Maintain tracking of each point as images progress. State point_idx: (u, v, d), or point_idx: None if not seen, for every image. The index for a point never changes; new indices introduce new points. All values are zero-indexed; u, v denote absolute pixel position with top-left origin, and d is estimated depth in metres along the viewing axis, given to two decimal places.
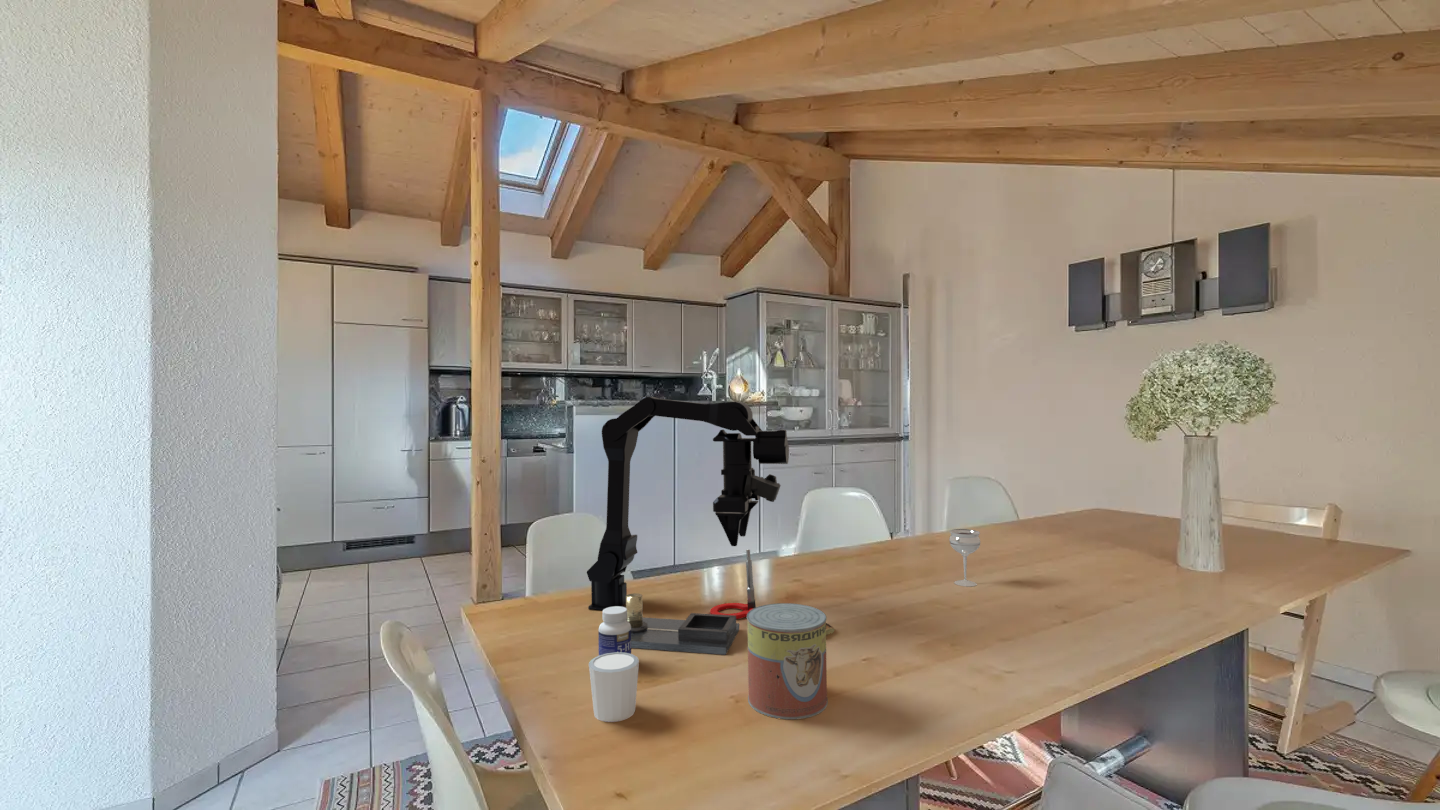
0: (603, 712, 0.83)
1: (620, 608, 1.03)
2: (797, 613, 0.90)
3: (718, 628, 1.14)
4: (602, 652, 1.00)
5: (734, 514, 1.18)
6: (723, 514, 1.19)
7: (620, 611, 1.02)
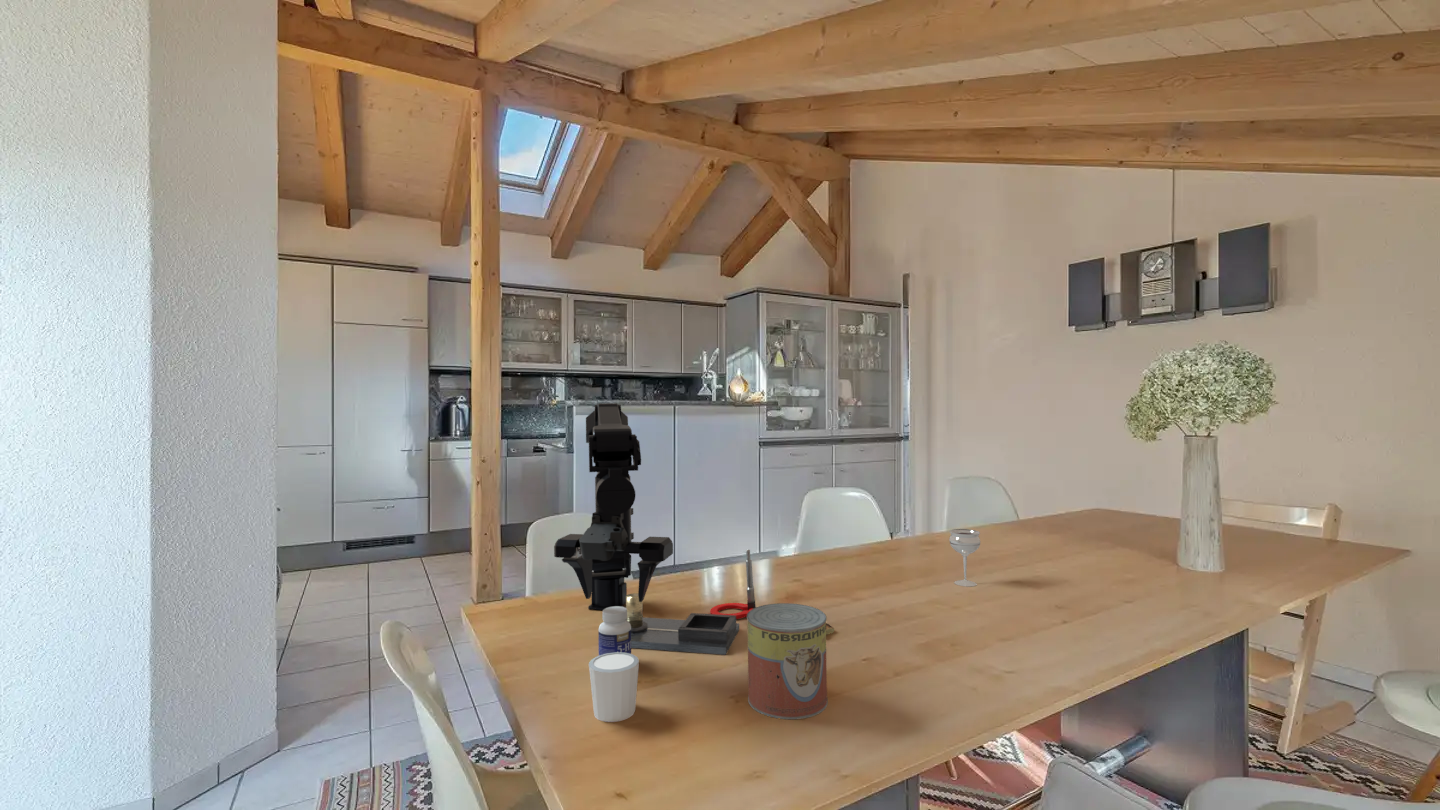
0: (603, 712, 0.83)
1: (620, 608, 1.03)
2: (797, 613, 0.90)
3: (718, 628, 1.14)
4: (602, 652, 1.00)
5: None
6: None
7: (620, 611, 1.01)
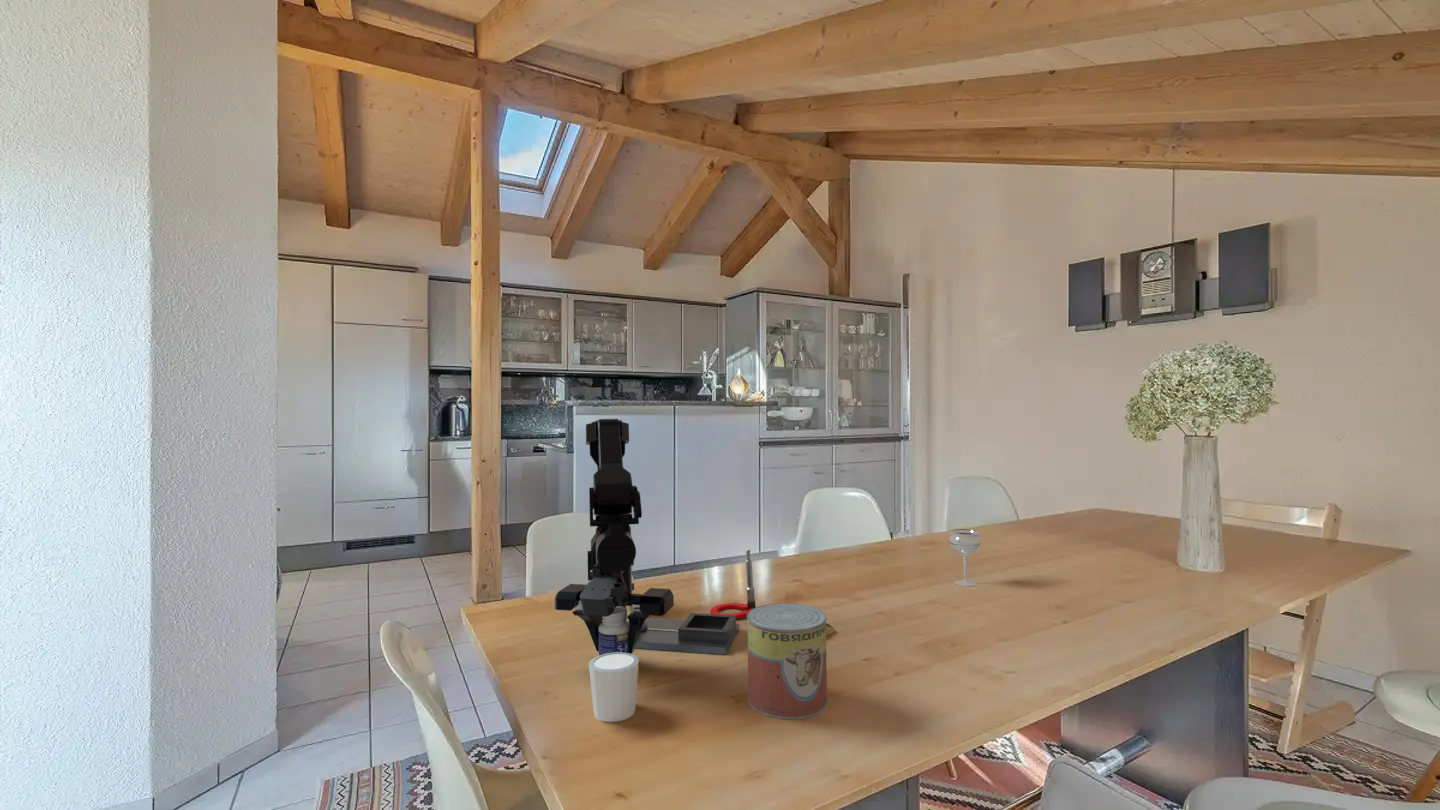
0: (603, 712, 0.83)
1: (620, 608, 1.03)
2: (797, 613, 0.90)
3: (718, 628, 1.14)
4: (602, 651, 1.00)
5: None
6: None
7: (620, 611, 1.01)
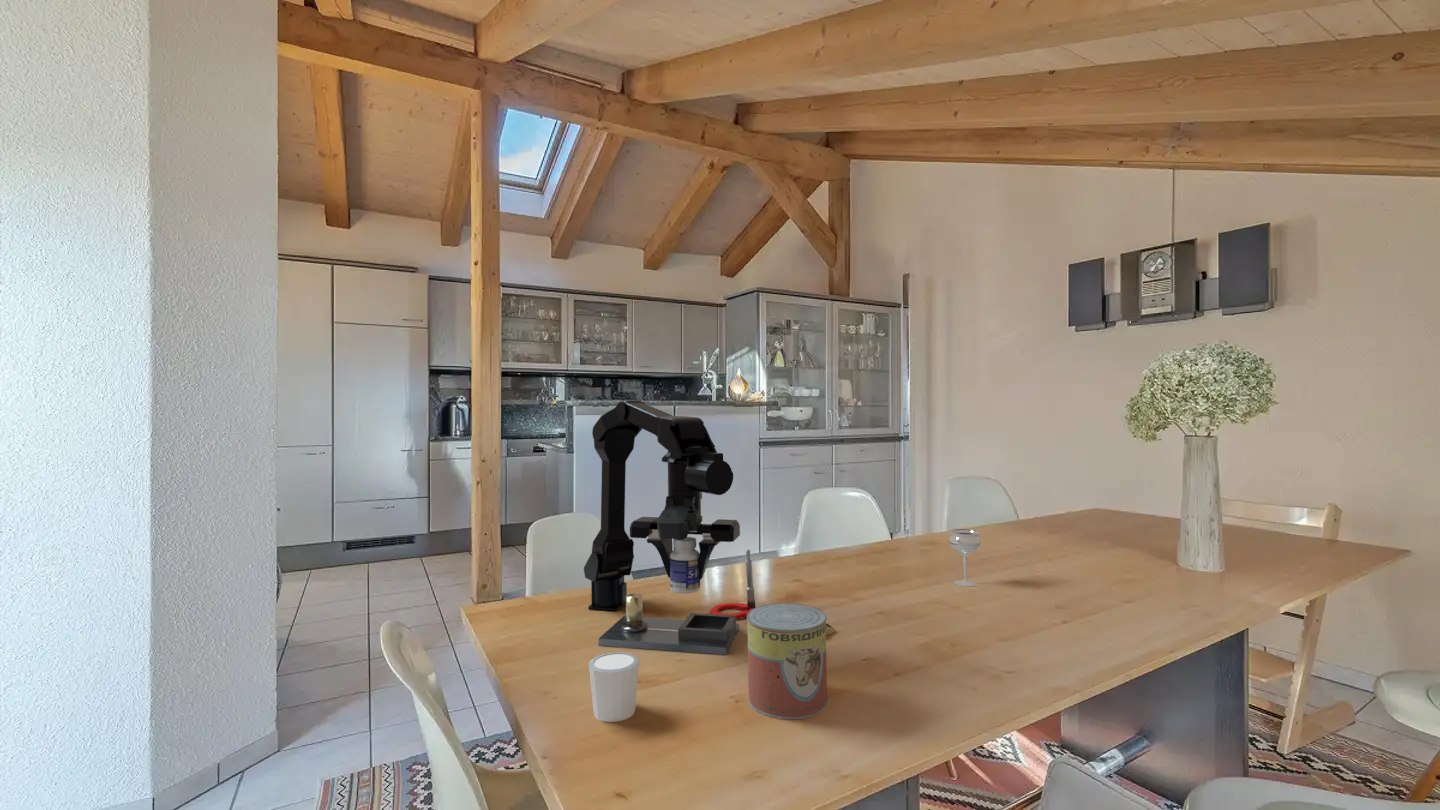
0: (603, 712, 0.83)
1: (689, 537, 1.10)
2: (797, 613, 0.90)
3: (718, 628, 1.14)
4: (674, 576, 1.07)
5: None
6: None
7: (690, 539, 1.09)
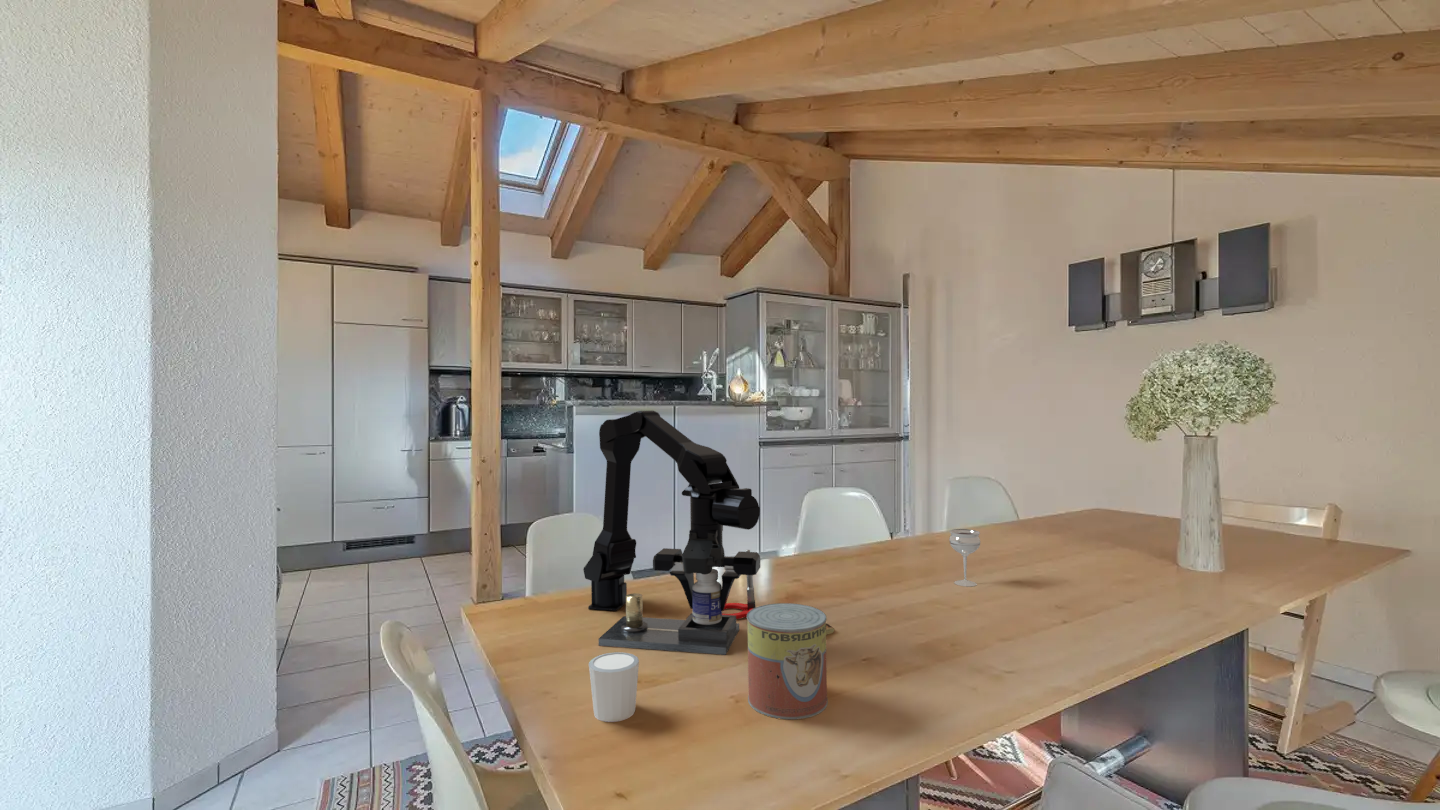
0: (603, 712, 0.83)
1: None
2: (797, 613, 0.90)
3: (718, 628, 1.14)
4: (697, 608, 1.10)
5: None
6: None
7: (713, 571, 1.11)
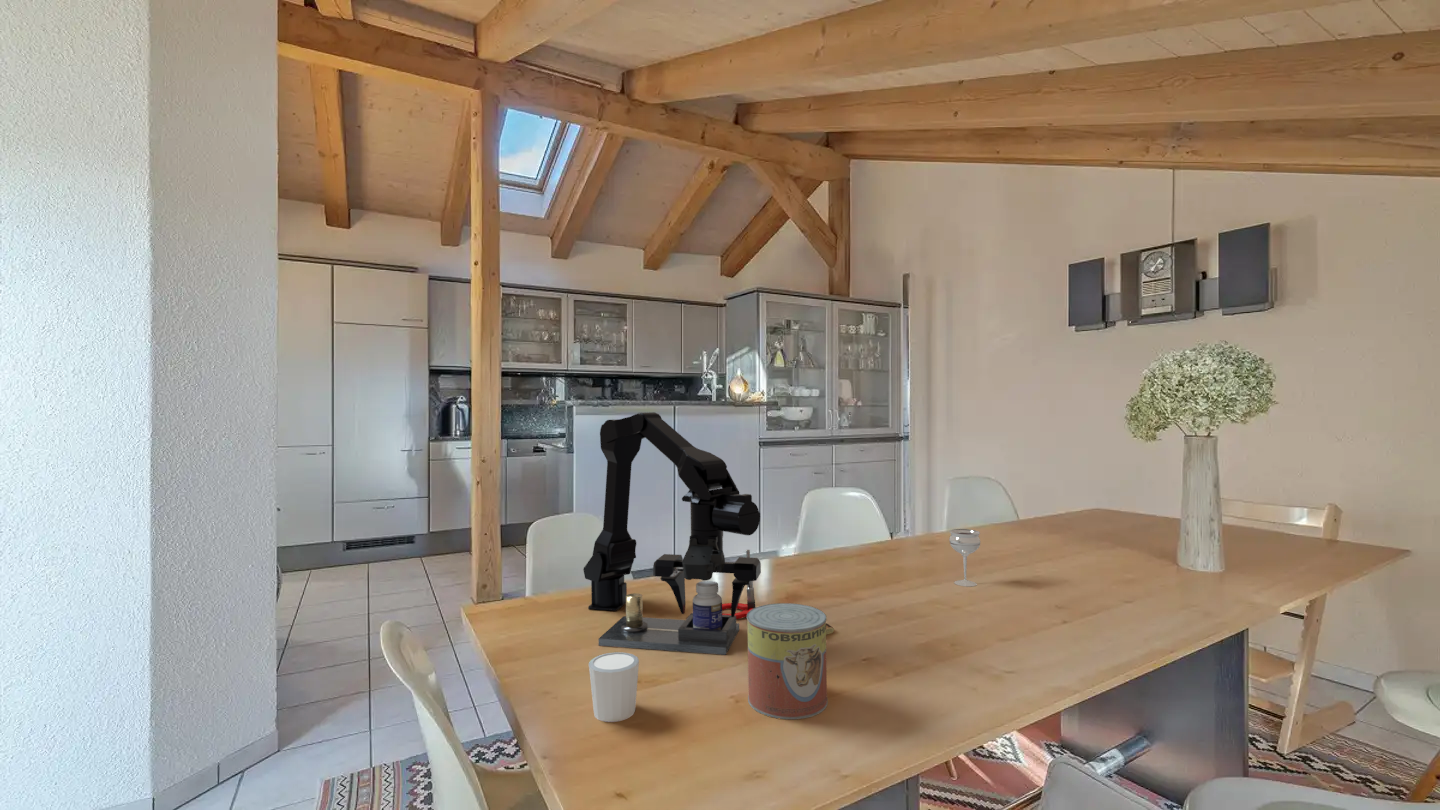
0: (603, 712, 0.83)
1: (711, 582, 1.13)
2: (797, 613, 0.90)
3: None
4: (698, 621, 1.10)
5: None
6: None
7: (713, 584, 1.11)
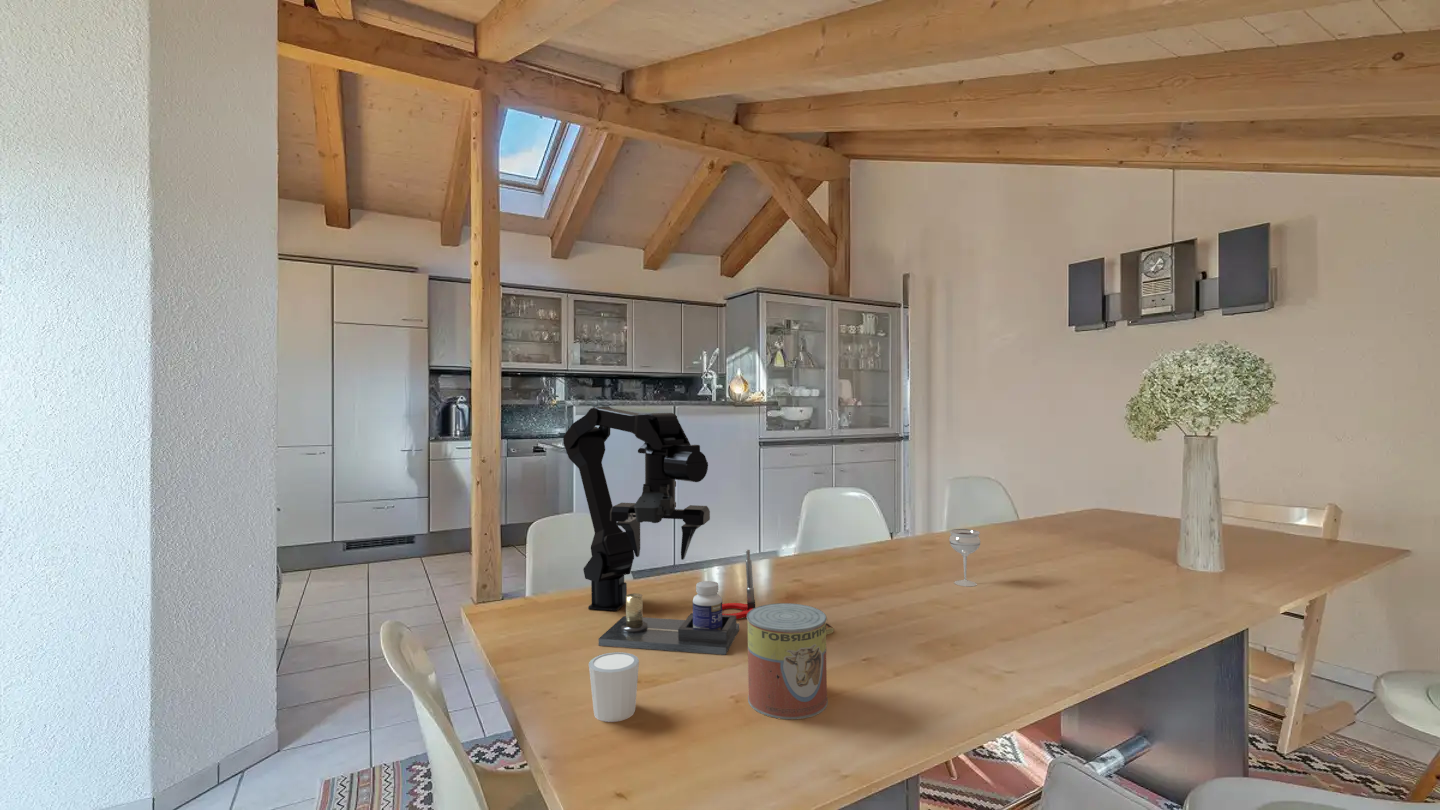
0: (603, 712, 0.83)
1: (711, 582, 1.13)
2: (797, 613, 0.90)
3: None
4: (698, 621, 1.10)
5: None
6: None
7: (713, 584, 1.11)
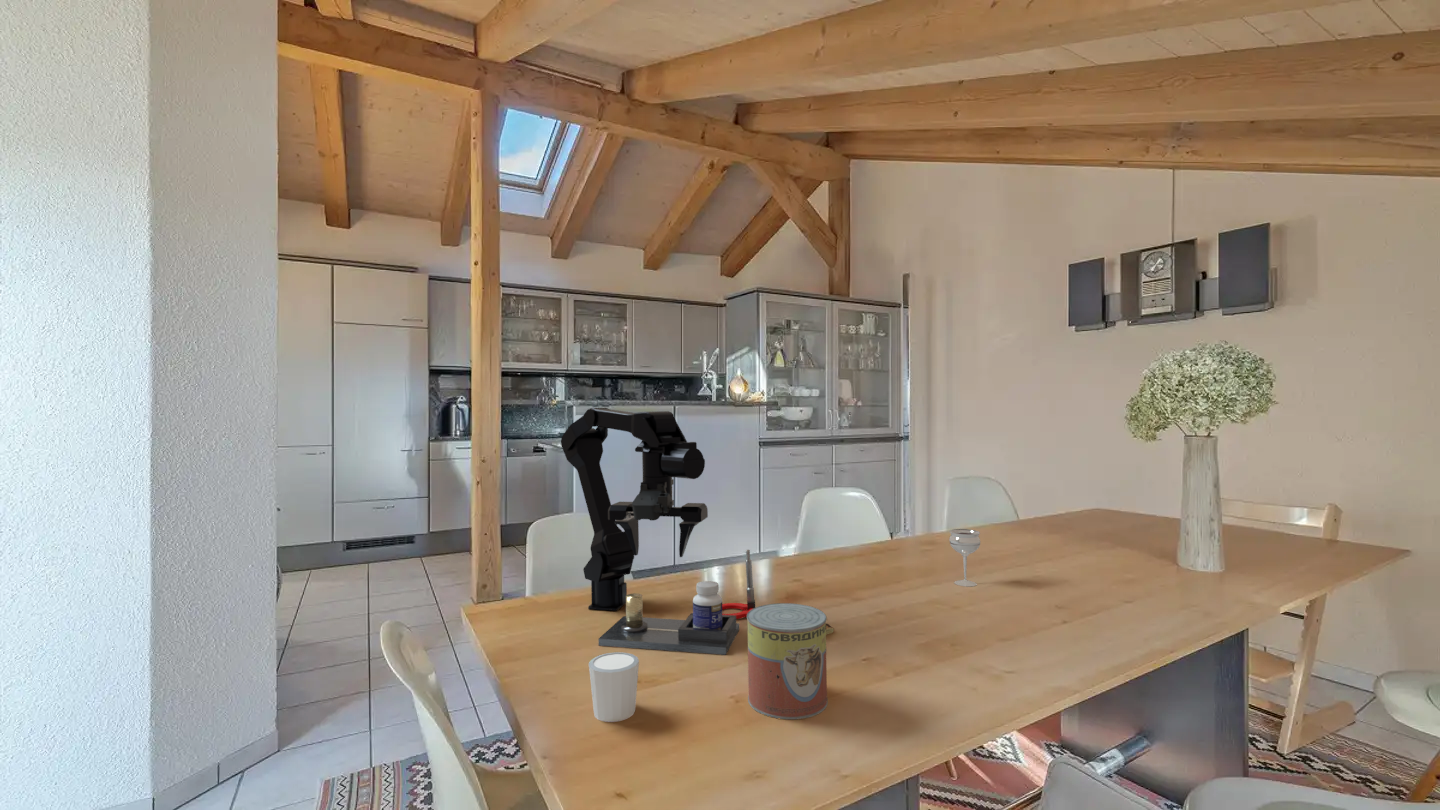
0: (603, 712, 0.83)
1: (712, 582, 1.13)
2: (797, 613, 0.90)
3: None
4: (698, 621, 1.10)
5: None
6: None
7: (713, 584, 1.11)
